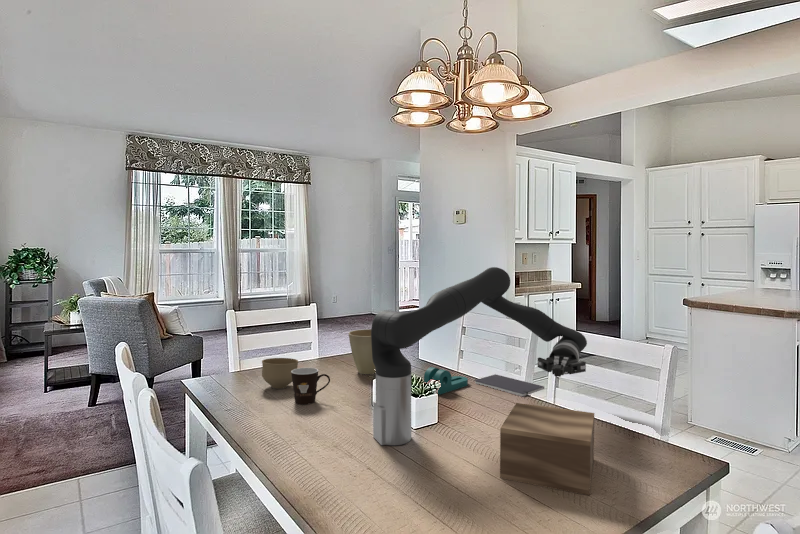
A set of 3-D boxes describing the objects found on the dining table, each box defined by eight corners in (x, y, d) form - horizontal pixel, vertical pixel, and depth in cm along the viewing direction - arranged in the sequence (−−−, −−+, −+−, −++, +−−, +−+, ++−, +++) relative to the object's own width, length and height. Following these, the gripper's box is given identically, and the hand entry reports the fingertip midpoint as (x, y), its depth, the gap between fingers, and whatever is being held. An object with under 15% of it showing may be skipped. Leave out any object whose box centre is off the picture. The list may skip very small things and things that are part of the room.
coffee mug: (286, 403, 153) (285, 372, 152) (301, 396, 161) (301, 366, 160) (317, 408, 149) (317, 376, 148) (331, 400, 156) (331, 369, 156)
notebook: (544, 390, 168) (495, 378, 184) (544, 386, 168) (495, 374, 184) (522, 398, 160) (473, 384, 176) (523, 393, 159) (473, 380, 176)
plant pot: (341, 372, 191) (340, 332, 190) (370, 365, 201) (370, 328, 201) (364, 379, 180) (364, 337, 180) (394, 372, 190) (394, 332, 190)
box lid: (516, 406, 120) (516, 402, 120) (594, 417, 112) (594, 413, 112) (500, 432, 103) (500, 427, 103) (590, 446, 96) (590, 441, 96)
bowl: (306, 385, 173) (305, 358, 172) (279, 395, 162) (279, 365, 162) (281, 380, 180) (280, 353, 179) (254, 389, 169) (253, 360, 168)
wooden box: (516, 446, 120) (516, 406, 120) (593, 459, 113) (594, 417, 112) (500, 477, 104) (500, 432, 103) (589, 495, 96) (590, 446, 96)
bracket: (438, 395, 162) (438, 372, 161) (423, 391, 166) (423, 368, 166) (471, 384, 174) (471, 363, 174) (456, 381, 179) (457, 360, 179)
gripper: (540, 342, 139) (530, 355, 124) (589, 346, 134) (585, 360, 118) (540, 368, 140) (530, 384, 124) (589, 373, 134) (585, 390, 118)
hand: (557, 372), depth 121 cm, fingers closed
